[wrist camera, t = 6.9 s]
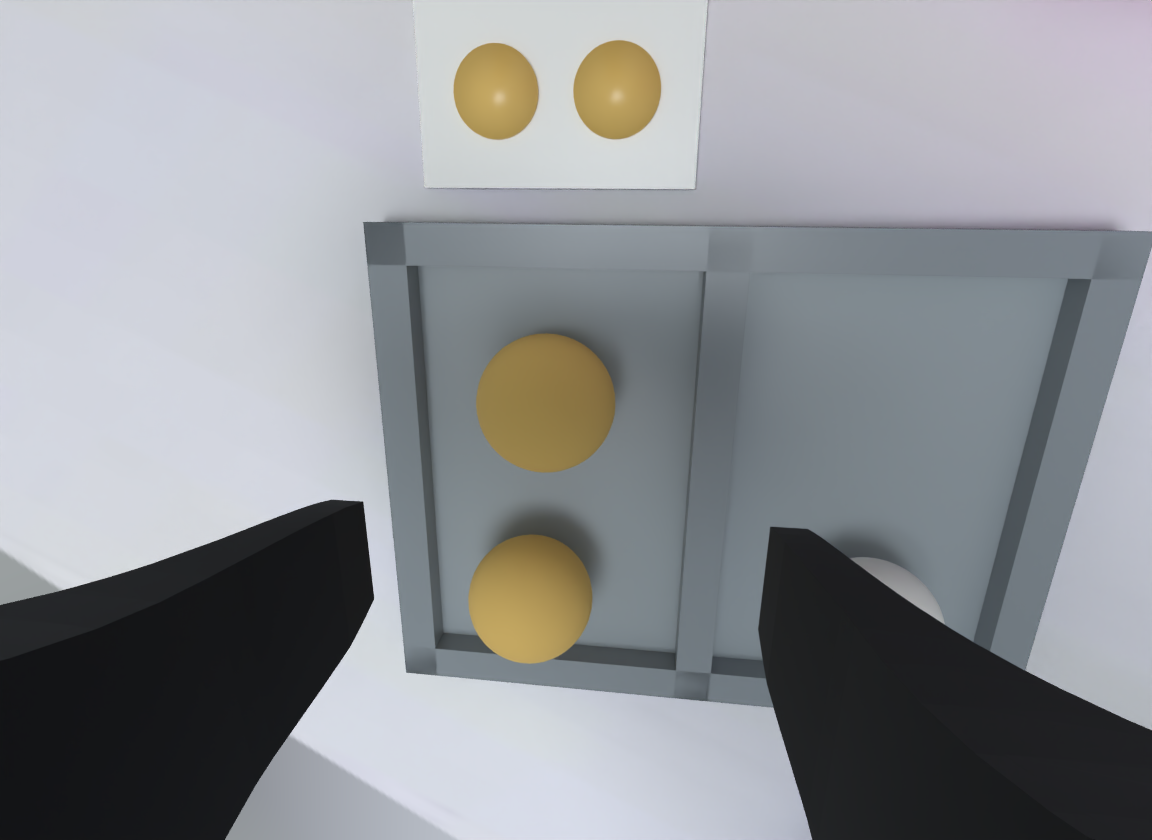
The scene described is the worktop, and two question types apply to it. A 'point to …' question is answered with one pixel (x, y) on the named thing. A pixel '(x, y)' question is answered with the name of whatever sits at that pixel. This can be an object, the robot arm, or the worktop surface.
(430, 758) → the worktop surface
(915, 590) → the ivory ball
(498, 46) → the card
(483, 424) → the amber ball
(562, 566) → the amber ball
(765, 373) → the sorting tray
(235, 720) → the robot arm
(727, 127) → the worktop surface
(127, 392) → the worktop surface
